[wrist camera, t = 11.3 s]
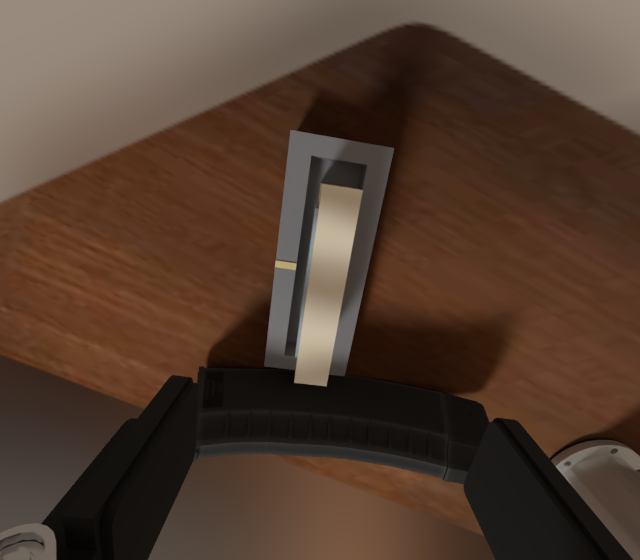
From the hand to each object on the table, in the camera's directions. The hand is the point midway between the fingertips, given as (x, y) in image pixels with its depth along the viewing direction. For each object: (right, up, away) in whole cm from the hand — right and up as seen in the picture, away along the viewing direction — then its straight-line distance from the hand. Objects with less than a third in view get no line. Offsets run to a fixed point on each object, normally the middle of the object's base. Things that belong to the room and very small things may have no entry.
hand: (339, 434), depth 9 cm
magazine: (+1, -7, +25) cm, 26 cm away
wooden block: (0, +7, +19) cm, 20 cm away
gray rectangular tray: (-1, +7, +20) cm, 21 cm away
